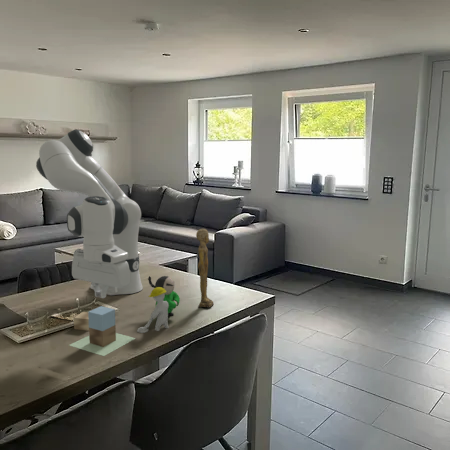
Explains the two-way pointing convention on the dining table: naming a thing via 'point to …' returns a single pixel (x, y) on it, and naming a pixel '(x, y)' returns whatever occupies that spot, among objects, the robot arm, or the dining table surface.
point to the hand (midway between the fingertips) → (100, 296)
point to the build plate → (99, 350)
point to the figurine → (158, 310)
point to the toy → (167, 292)
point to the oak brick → (81, 321)
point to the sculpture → (203, 266)
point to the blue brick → (101, 318)
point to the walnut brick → (102, 336)
